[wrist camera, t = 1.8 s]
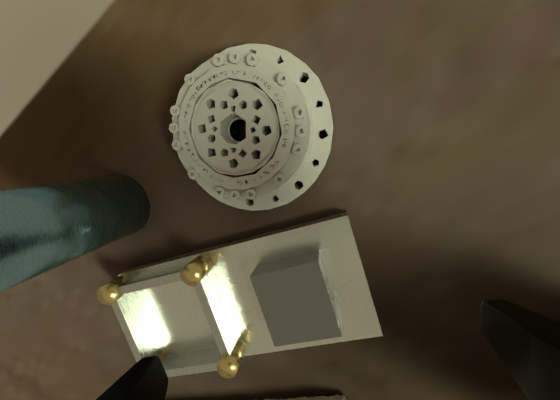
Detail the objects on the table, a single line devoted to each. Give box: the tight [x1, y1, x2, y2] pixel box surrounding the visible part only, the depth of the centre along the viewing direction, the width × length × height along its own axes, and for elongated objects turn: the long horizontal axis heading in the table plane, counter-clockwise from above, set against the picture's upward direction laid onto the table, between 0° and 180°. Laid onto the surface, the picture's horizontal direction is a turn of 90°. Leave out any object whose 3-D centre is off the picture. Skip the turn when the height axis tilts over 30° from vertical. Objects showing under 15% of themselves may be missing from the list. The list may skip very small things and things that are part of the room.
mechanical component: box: [169, 44, 333, 211], centre depth 16 cm, size 10×4×10 cm
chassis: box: [97, 211, 383, 379], centre depth 19 cm, size 8×18×3 cm, turn 108°
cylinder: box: [0, 175, 150, 292], centre depth 16 cm, size 5×5×10 cm
